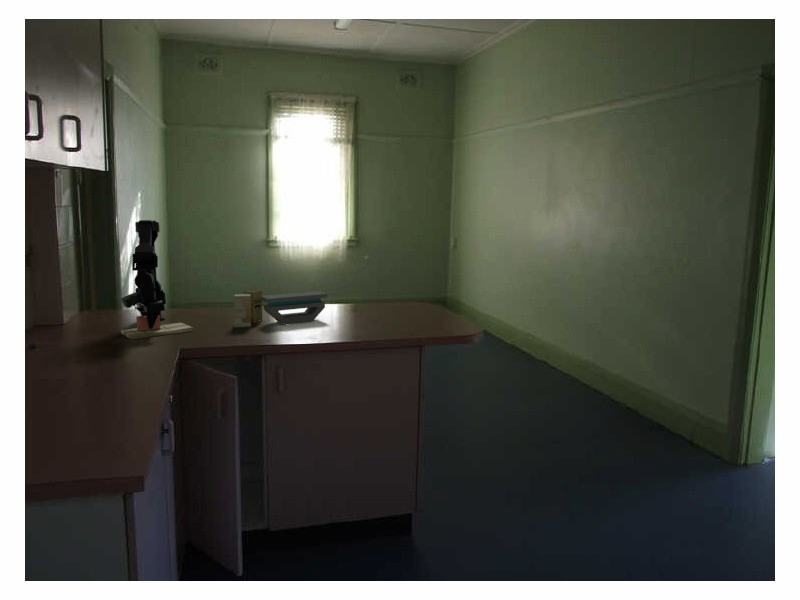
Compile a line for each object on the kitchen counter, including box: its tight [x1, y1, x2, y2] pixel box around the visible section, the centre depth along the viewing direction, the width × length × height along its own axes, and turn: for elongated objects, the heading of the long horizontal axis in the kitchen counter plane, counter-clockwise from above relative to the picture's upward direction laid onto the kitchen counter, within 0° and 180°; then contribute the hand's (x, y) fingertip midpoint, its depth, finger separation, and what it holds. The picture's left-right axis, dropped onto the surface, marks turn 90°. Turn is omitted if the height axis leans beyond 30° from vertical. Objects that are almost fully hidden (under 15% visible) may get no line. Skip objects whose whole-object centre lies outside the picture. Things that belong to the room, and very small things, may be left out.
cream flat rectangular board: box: [120, 322, 194, 340], centre depth 223 cm, size 12×22×1 cm, turn 131°
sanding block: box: [135, 315, 161, 332], centre depth 221 cm, size 4×7×5 cm, turn 130°
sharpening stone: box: [261, 290, 328, 326], centre depth 243 cm, size 25×8×11 cm, turn 122°
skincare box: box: [233, 293, 252, 328], centre depth 234 cm, size 6×4×12 cm
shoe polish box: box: [243, 289, 263, 323], centre depth 244 cm, size 5×5×12 cm
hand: (148, 327), depth 221 cm, fingers closed on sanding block, 4 cm apart
